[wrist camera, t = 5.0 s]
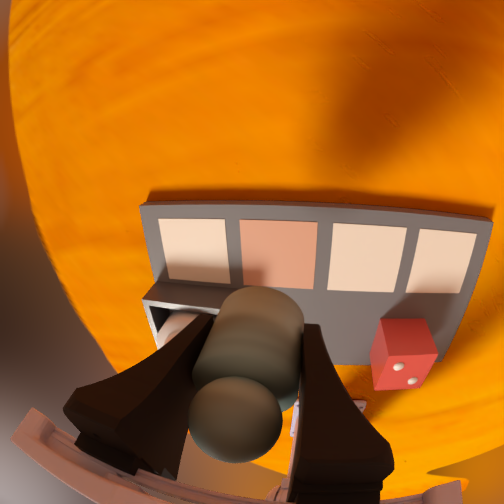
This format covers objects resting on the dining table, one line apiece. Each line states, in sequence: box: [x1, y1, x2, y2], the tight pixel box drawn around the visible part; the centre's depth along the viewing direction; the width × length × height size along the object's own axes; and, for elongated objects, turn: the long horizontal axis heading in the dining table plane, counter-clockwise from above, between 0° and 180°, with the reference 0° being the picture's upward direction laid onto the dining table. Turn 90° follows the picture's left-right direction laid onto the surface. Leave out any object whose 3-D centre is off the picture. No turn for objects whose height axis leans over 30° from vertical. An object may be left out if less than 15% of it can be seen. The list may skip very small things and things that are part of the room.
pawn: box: [188, 286, 304, 463], centre depth 10 cm, size 4×4×7 cm
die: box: [369, 318, 438, 390], centre depth 19 cm, size 4×4×4 cm
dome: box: [157, 310, 217, 349], centre depth 20 cm, size 6×6×4 cm
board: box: [139, 200, 494, 365], centre depth 19 cm, size 14×26×4 cm, turn 93°
